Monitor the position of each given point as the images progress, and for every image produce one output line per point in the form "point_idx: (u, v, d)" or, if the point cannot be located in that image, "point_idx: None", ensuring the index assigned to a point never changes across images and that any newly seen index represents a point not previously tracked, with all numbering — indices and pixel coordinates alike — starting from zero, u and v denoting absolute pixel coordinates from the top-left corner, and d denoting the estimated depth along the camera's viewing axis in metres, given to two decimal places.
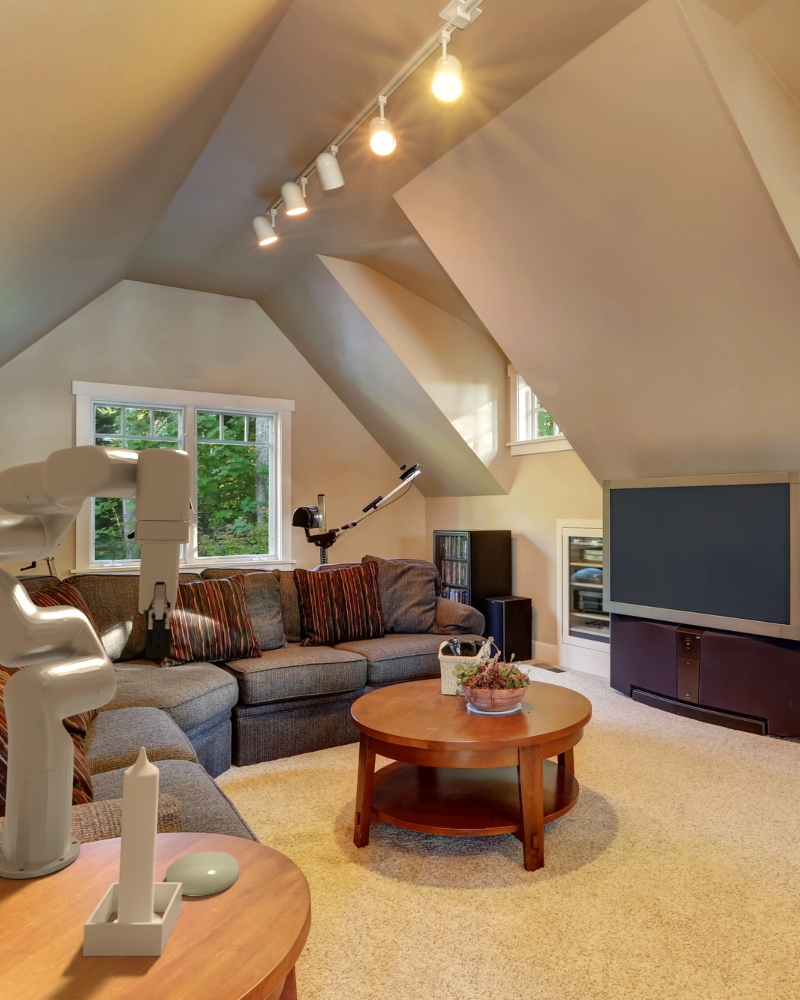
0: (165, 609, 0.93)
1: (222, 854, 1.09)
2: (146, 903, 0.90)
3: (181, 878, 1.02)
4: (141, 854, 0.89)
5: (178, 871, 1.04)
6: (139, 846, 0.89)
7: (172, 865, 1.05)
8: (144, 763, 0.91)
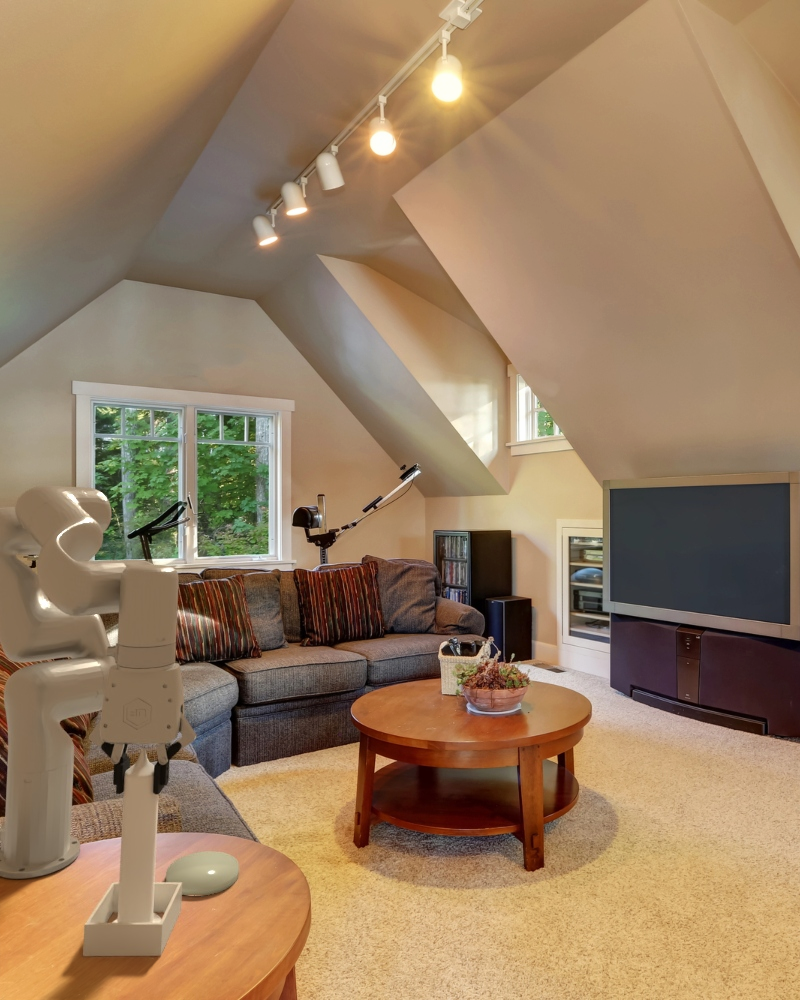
0: None
1: (222, 854, 1.09)
2: (147, 903, 0.90)
3: (181, 878, 1.02)
4: (141, 854, 0.89)
5: (178, 871, 1.04)
6: (140, 846, 0.89)
7: (172, 865, 1.05)
8: (145, 762, 0.91)
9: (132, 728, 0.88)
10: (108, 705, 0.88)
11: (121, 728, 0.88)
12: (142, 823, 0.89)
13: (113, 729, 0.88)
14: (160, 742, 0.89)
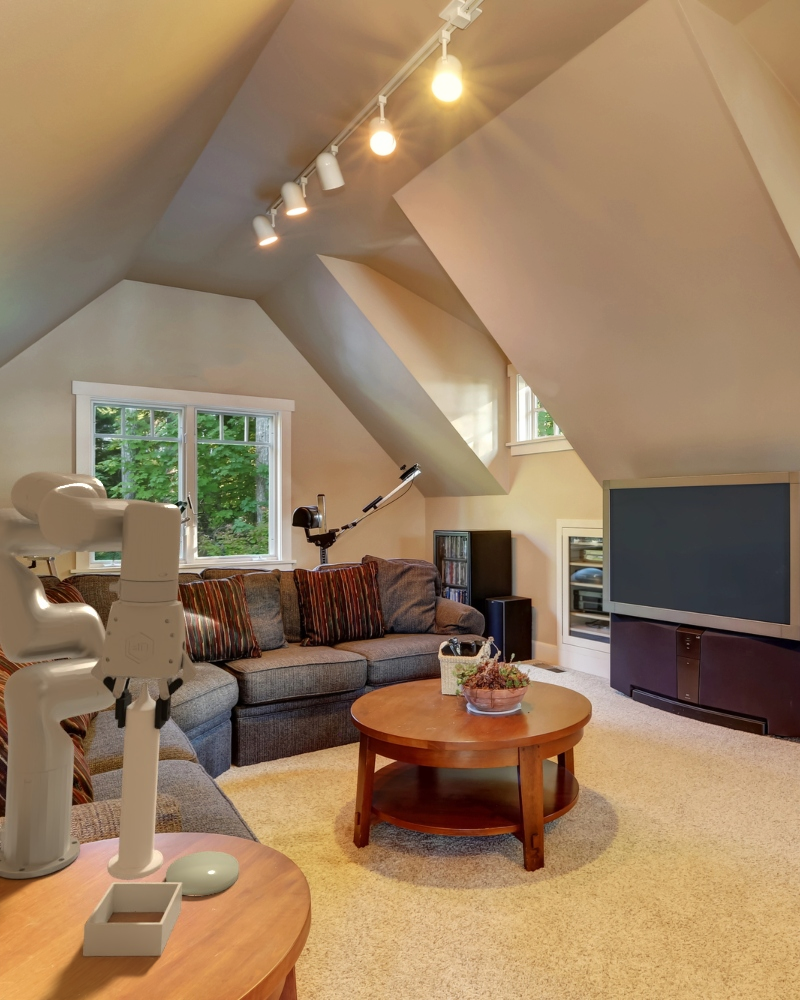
0: None
1: (222, 854, 1.09)
2: (147, 837, 0.90)
3: (181, 878, 1.02)
4: (142, 788, 0.89)
5: (178, 871, 1.04)
6: (141, 780, 0.89)
7: (172, 865, 1.05)
8: (146, 698, 0.91)
9: (134, 662, 0.89)
10: (110, 639, 0.89)
11: (123, 662, 0.89)
12: (143, 757, 0.89)
13: (115, 663, 0.89)
14: (162, 676, 0.89)
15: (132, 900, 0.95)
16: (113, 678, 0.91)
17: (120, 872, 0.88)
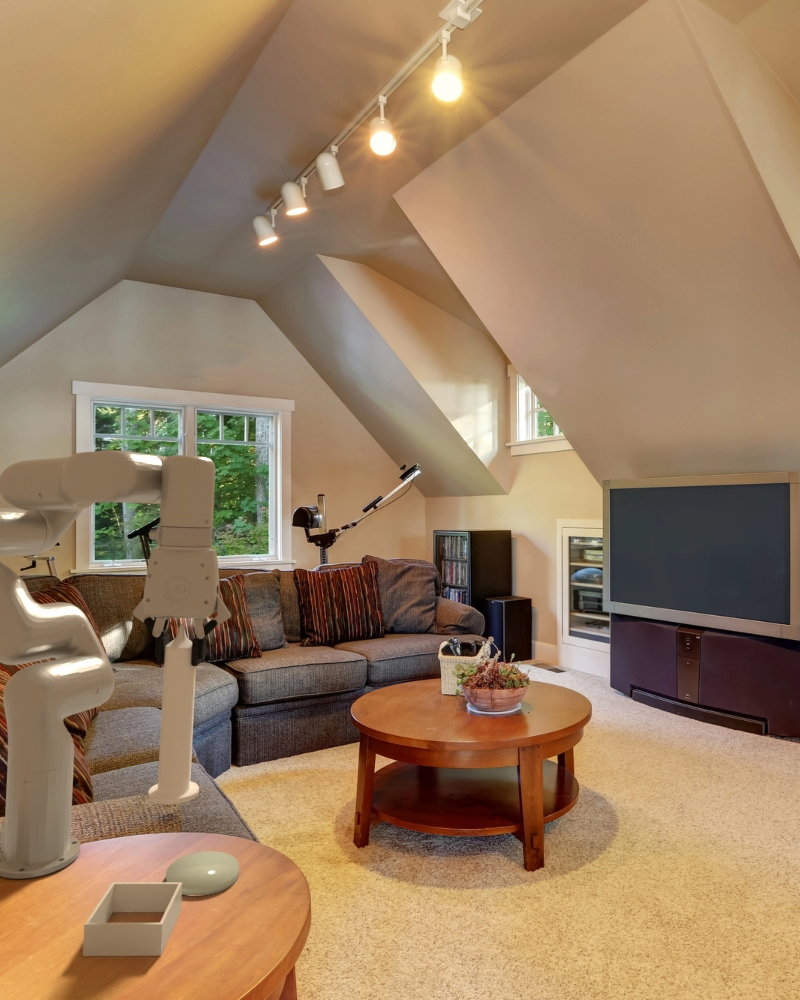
0: None
1: (222, 854, 1.09)
2: (185, 766, 0.97)
3: (181, 878, 1.02)
4: (180, 720, 0.96)
5: (178, 871, 1.04)
6: (178, 713, 0.96)
7: (172, 865, 1.05)
8: (183, 637, 0.98)
9: (172, 602, 0.96)
10: (151, 581, 0.96)
11: (162, 602, 0.96)
12: (181, 691, 0.96)
13: (155, 603, 0.96)
14: (198, 616, 0.96)
15: (132, 900, 0.95)
16: (153, 619, 0.98)
17: (160, 797, 0.95)
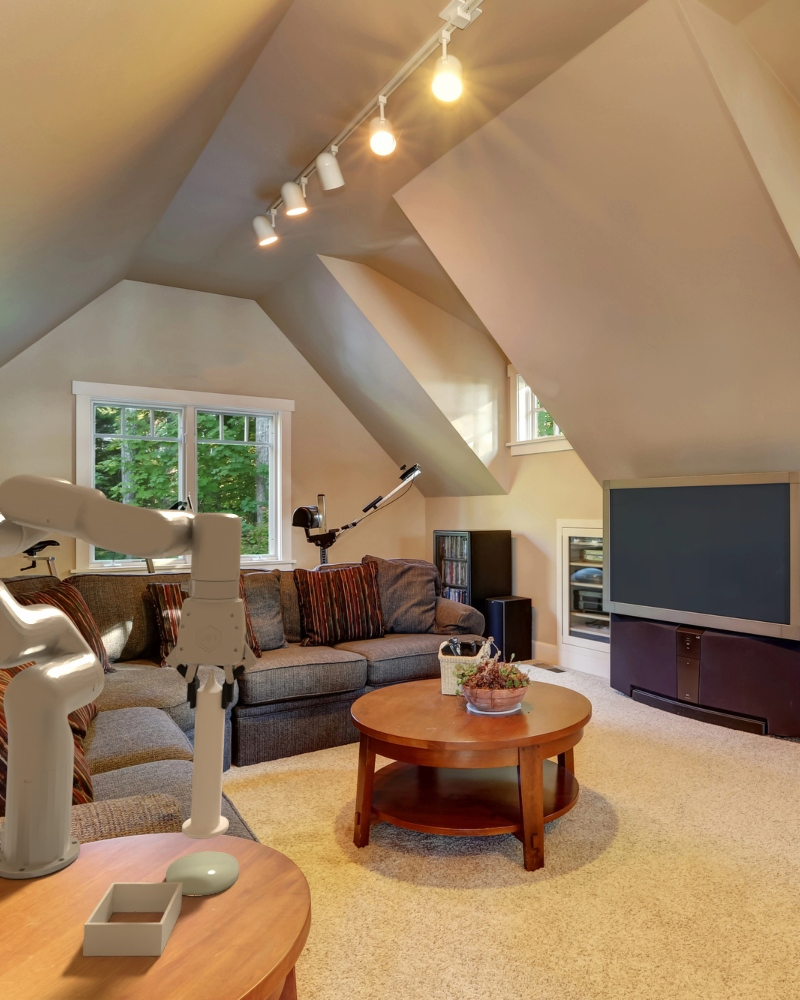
0: None
1: (222, 854, 1.09)
2: (216, 803, 1.04)
3: (181, 878, 1.02)
4: (212, 760, 1.03)
5: (178, 871, 1.04)
6: (210, 753, 1.03)
7: (172, 865, 1.05)
8: (214, 682, 1.05)
9: (204, 651, 1.03)
10: (184, 631, 1.03)
11: (195, 651, 1.03)
12: (212, 733, 1.03)
13: (188, 652, 1.03)
14: (228, 663, 1.03)
15: (132, 900, 0.95)
16: (184, 665, 1.05)
17: (194, 833, 1.02)
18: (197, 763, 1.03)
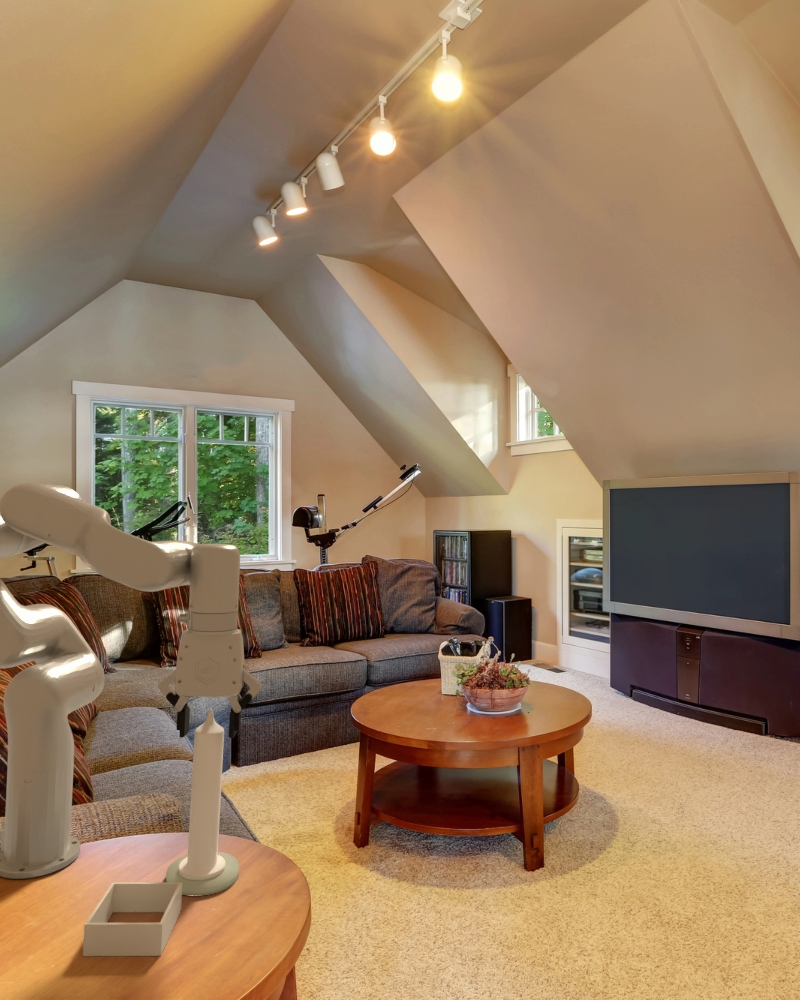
0: None
1: (222, 854, 1.09)
2: (213, 843, 1.04)
3: (181, 878, 1.02)
4: (209, 800, 1.03)
5: (178, 871, 1.04)
6: (208, 793, 1.03)
7: (172, 865, 1.05)
8: (212, 722, 1.05)
9: (203, 683, 1.03)
10: (182, 663, 1.03)
11: (193, 683, 1.02)
12: (210, 774, 1.03)
13: (186, 684, 1.02)
14: (226, 695, 1.03)
15: (132, 900, 0.95)
16: (174, 694, 1.05)
17: (190, 874, 1.02)
18: (194, 803, 1.03)
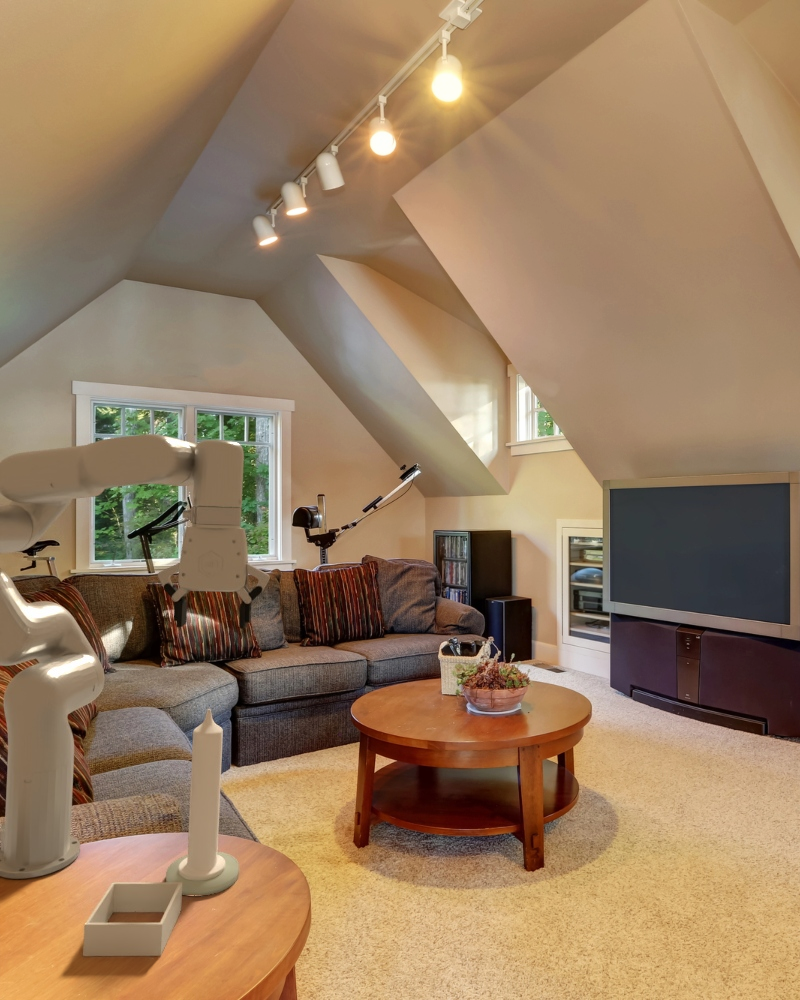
0: (244, 585, 1.07)
1: (222, 854, 1.09)
2: (213, 843, 1.04)
3: (181, 878, 1.02)
4: (208, 800, 1.03)
5: None
6: (207, 794, 1.03)
7: (172, 865, 1.05)
8: (211, 722, 1.05)
9: (206, 576, 1.03)
10: (186, 557, 1.03)
11: (197, 577, 1.03)
12: (209, 774, 1.03)
13: (190, 577, 1.03)
14: (230, 589, 1.03)
15: (132, 900, 0.95)
16: (171, 585, 1.05)
17: (190, 874, 1.02)
18: (194, 804, 1.03)
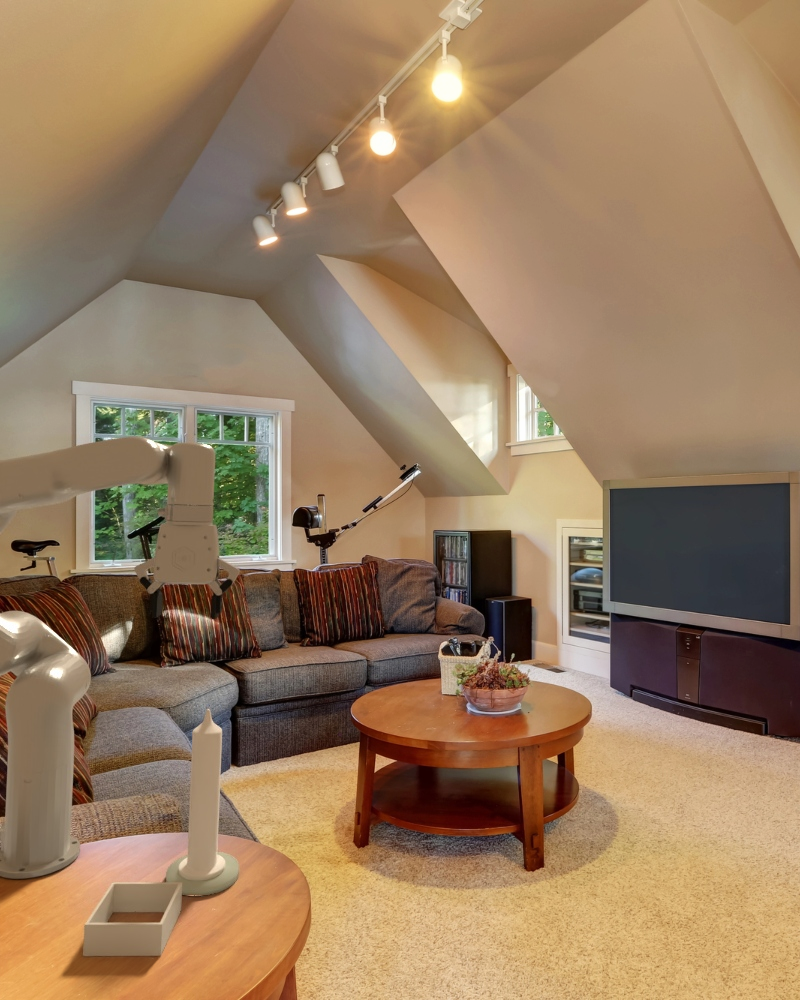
0: (216, 578, 1.14)
1: (222, 854, 1.09)
2: (213, 843, 1.04)
3: (181, 878, 1.02)
4: (208, 801, 1.03)
5: None
6: (207, 794, 1.03)
7: (172, 865, 1.05)
8: (210, 722, 1.05)
9: (179, 570, 1.10)
10: (160, 552, 1.10)
11: (171, 570, 1.10)
12: (209, 774, 1.03)
13: (164, 571, 1.10)
14: (202, 582, 1.10)
15: (132, 900, 0.95)
16: (147, 578, 1.12)
17: (190, 874, 1.02)
18: (193, 804, 1.03)
